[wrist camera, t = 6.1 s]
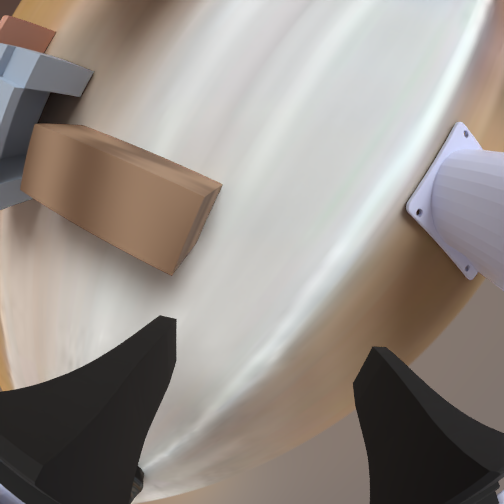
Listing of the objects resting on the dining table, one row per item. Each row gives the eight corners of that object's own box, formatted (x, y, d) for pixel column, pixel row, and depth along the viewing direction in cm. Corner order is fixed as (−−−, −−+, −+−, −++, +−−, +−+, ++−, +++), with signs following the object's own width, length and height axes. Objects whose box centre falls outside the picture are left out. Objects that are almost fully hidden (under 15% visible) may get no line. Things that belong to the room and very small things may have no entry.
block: (93, 71, 13) (31, 52, 7) (42, 195, 16) (-18, 217, 10) (56, 57, 12) (0, 42, 6) (12, 169, 15) (-43, 183, 9)
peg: (223, 184, 16) (204, 196, 11) (196, 242, 17) (171, 275, 12) (83, 125, 14) (34, 123, 10) (67, 177, 16) (20, 189, 11)
